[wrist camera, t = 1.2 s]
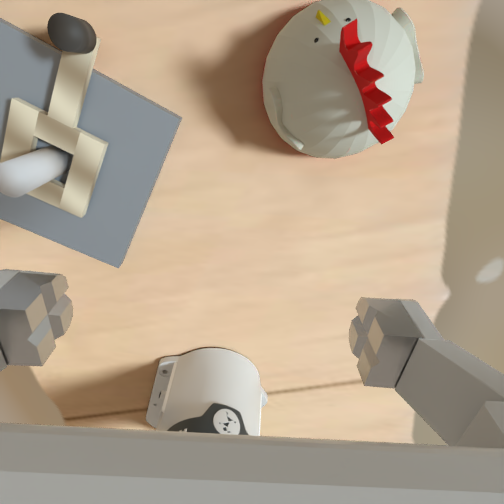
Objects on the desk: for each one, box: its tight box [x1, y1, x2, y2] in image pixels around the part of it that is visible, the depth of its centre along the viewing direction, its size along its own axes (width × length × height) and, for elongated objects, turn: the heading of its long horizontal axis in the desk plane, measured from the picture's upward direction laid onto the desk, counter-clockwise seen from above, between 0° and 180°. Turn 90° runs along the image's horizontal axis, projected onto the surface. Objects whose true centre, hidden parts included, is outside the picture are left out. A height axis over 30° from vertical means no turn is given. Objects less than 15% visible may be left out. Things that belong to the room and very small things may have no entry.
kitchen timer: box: [262, 0, 424, 159], centre depth 27 cm, size 14×14×15 cm
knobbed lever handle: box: [0, 13, 108, 218], centre depth 32 cm, size 18×9×4 cm, turn 152°
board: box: [0, 18, 182, 268], centre depth 33 cm, size 20×20×10 cm
